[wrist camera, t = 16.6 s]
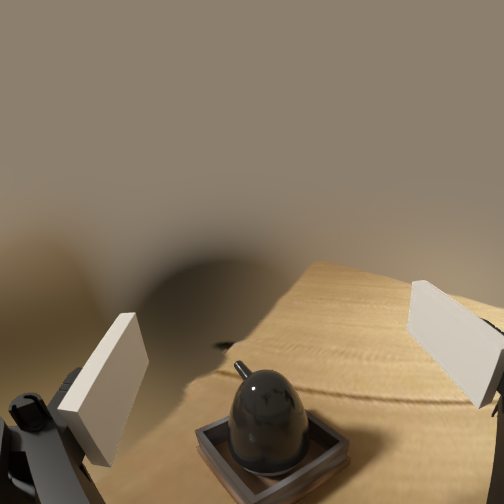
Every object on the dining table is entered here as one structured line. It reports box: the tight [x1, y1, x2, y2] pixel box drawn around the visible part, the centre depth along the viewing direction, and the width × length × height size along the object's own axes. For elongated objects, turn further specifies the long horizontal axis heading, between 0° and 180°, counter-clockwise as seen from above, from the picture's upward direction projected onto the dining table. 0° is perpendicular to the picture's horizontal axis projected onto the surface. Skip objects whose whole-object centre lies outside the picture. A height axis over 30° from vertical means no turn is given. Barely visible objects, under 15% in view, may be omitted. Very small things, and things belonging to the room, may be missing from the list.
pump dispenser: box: [228, 361, 311, 476], centre depth 32 cm, size 10×10×15 cm
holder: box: [195, 410, 350, 504], centre depth 34 cm, size 15×15×6 cm
